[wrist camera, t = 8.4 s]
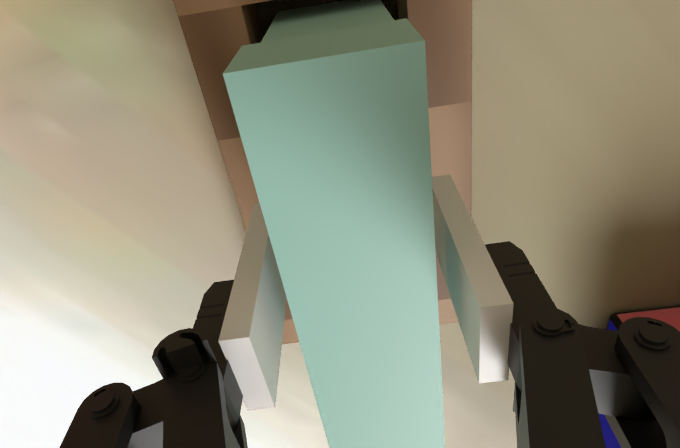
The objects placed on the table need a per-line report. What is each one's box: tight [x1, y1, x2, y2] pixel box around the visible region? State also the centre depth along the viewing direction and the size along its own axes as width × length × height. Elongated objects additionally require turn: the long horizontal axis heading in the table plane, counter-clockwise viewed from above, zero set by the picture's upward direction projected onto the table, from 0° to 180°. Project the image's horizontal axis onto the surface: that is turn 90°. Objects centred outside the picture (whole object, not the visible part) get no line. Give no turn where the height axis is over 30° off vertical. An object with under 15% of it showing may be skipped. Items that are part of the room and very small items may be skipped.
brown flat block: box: [173, 0, 472, 344], centre depth 21 cm, size 10×18×3 cm, turn 9°
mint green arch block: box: [223, 0, 445, 448], centre depth 17 cm, size 4×14×11 cm, turn 9°
